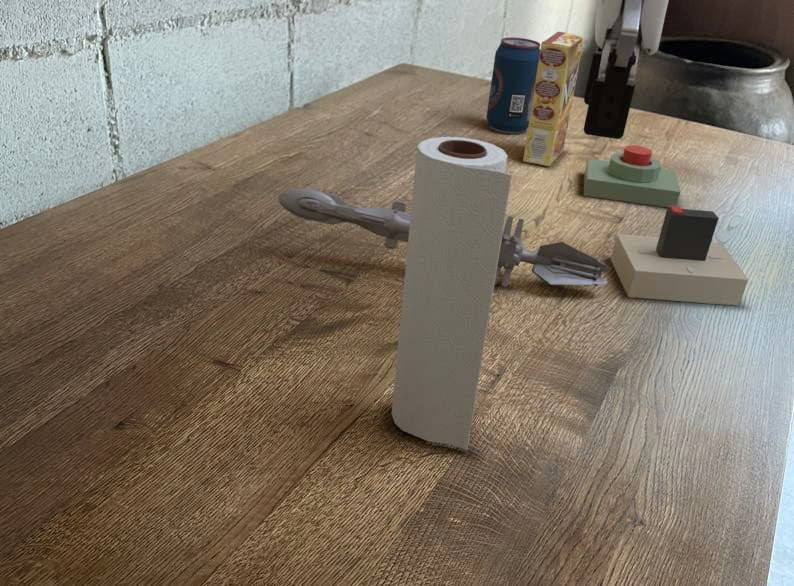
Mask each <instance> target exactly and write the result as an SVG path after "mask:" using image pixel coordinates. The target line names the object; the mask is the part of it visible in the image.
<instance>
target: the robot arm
mask: <svg viewBox="0 0 794 586" xmlns="http://www.w3.org/2000/svg"><path fill="white" fill-rule="evenodd" d="M669 1H670V0H597V3H596V12H595V25H594V40H595V44H596V45H597V46H596V51H595V53H593V54H592V58H591V63H590V66H589V67H590V68H589V73H588V78H587V82H586V87H585V92H584V96H583V102H584V104H585V105H587V110H586V115H585V120H584V124H583V132H584V134H585V135H587V136H594V137H601V138H609V139H616V140H620V139H622V138H623V137H624V134H625V130H626V126H627V122H628V118H629V114H630V109H631V106H632V101H633V97H634V93H635V88H636V84H635V79H636V74H637V69H638V63H639V56H640V50H641V48H643V49H645V51H646V54H647V56H652V55H654V54H655V53H657V52H658V50H659V47H660V42H661V37H662V33H663V28H664V23H665V19H666V13H667V9H668V5H669Z"/></svg>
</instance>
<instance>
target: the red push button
mask: <svg viewBox="0 0 794 586" xmlns="http://www.w3.org/2000/svg"><path fill="white" fill-rule="evenodd" d="M622 153H623V157H622V161H623V162H625V163H628V164H631V165H637V166H649V163H650V160H651V157H652V156H653V150H652V149H650V148H648V147H645V146H641V145H626V146H625V147H624V149H623V152H622Z"/></svg>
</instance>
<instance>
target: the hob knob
mask: <svg viewBox="0 0 794 586" xmlns="http://www.w3.org/2000/svg"><path fill="white" fill-rule="evenodd" d="M718 223H719V217H718V216H717V214H716V212H715V211H711V210H701V209H689V208H682V207H680V205H679V206H678V205H677V206H670V208H667V207H666V211H665V215H664V218H663V222H662V226H661V229H660V233H659V236H658V237H659V240H658V243H657V247H656V251H657V252H658V254H659V256H660V257H669V258H682V259H694V260H706V257H707V254H708V250H709V247H710V244H711V242H713V241H712V240H713V237H714V234H715V231H716V228H717V225H718Z"/></svg>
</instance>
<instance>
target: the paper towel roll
mask: <svg viewBox="0 0 794 586" xmlns="http://www.w3.org/2000/svg"><path fill="white" fill-rule="evenodd" d="M507 162H508V154H507V153H506V151H505V150H504V149H503V148H501V147H499V146H497V145H495V144H493V143H490V142H486V141H482V140H479V139H473V138H467V137H461V136H460V137H457V136H440V137H432V138H431V137H429V138H427V139H425V140H422V141H420V143H419V144H418V145H417V147H416V155H415V164H414V165H415V167H414V176H413V177H414V178H413V187H412V188H413V189H412V197H411V207H410V208H411V209H410V214H411V217H410V227H409V238H408V242H407V248H406V250H407V251H406V259H405V260H406V261H405V271H404V280H403V290H402V299H401V300H402V301H401V313H400V320H399V321H400V322H399V332H398V333H399V334H398V344H397V354H396V364H395V374H394V383H393V395H392V405H391V416H392V420H393V422H394V425H396V427H398V428H399V429H400V430H401V431H403V432H405V433H407V434H410V435H411V436H414V437H417V438H419V439H422V440H423V441H426V442H429V443H436V444H437V443H438V444H443V445H444V444H445V445H449V446H453V447H457V448H460V449H462V450H464V451H466V452H467V451H468V449H469V443H470V436H471V431H472V425H473V418H474V413H475V407H476V406H475V405H476V401H477V400H476V399H477V393H478V388H479V387H478V386H479V381H480V377H481V368H482V363H483V357H484V350H485V344H486V340H487V339H486V338H487V332H488V327H489V321H490V320H489V319H490V313H491V307H492V301H493V295H494V289H495V284H494V283H495V277H496V271H497V265H498V259H499V252H500V246H501V240H502V234H503V231H504V227H505V223H506V222H505V221H506V216H507V215H506V214H507V208H508V204H509V203H508V202H509V197H510V191H511V190H510V189H511V184H512V179H513V174H509V173H506V169H507Z"/></svg>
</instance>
